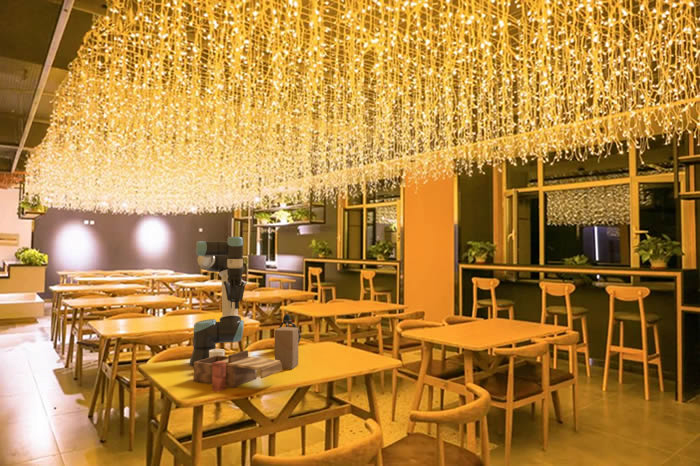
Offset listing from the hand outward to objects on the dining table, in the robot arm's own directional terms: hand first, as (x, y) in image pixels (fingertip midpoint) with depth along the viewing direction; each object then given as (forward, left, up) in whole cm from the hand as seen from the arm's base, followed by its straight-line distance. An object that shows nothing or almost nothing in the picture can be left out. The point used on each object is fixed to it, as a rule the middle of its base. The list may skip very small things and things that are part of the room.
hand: (234, 315), depth 225 cm
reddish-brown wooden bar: (+10, -22, -29) cm, 38 cm away
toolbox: (+2, -9, -29) cm, 31 cm away
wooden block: (+14, +25, -30) cm, 41 cm away
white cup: (-15, +4, -30) cm, 33 cm away
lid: (+16, -9, -24) cm, 30 cm away
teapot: (-10, +58, -30) cm, 66 cm away
